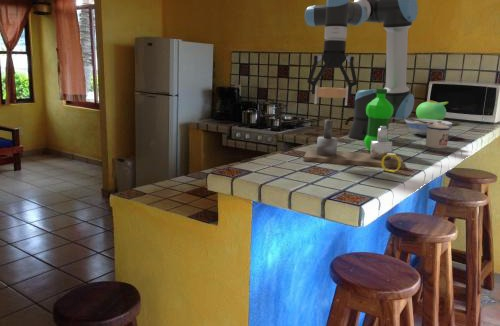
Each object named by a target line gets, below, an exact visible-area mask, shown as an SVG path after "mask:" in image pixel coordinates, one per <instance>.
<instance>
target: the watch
mask: <svg viewBox="0 0 500 326" xmlns="http://www.w3.org/2000/svg"><path fill="white" fill-rule="evenodd" d="M396 155H397V153H392V152H391V153H388V154H387V155H386V156H384V157H383V159H382V161H381V165H382V167H381V168H382V169H383V170H384V171H385V172H391V173H395V172H397V171H399V170H400V166H401V161H400V159H399V157H397V156H396ZM387 156H390V157H395V158H396V159H397V160H398V162H399V163H398V168H396V169H395V170H392V169H388V168H387V167H384V159H385V158H386V157H387Z"/></svg>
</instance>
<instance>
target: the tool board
mask: <svg viewBox="0 0 500 326" xmlns="http://www.w3.org/2000/svg"><path fill="white" fill-rule="evenodd" d="M333 122H334V121H333V120H332V119H324V127H323V136H318V137H317V140H316V141H317V143H316V148H307V150H306V152H305V154H304V156H303V162H313V163H324V164H338V165H351V166H365V167H374V168H375V167H376V168H377V167H378V168H382V165H381V161H382V160H376V159H371V158H370V152H356V151H354V152H353V151H342V150H338V138H339V137H338V138H337V137H336V136H335V137H333V136H332V134H333ZM396 156H397V157H399V159H400V161H401V166H400V168H399V170H401V169H403V170H404V169H405V163H404V160H403V159H402V156H401V155H397V154H396ZM398 163H399V162H398V160H397V159H396V158H395V157H391V159H390V160H384V167H385V168H386V169H388V168H389V169H397V168H398Z"/></svg>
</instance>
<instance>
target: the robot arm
mask: <svg viewBox="0 0 500 326" xmlns="http://www.w3.org/2000/svg"><path fill="white" fill-rule="evenodd" d="M418 6H419V5H418V2H417V0H354V1H351V0H326V3H325V4H316V5H315V4H314V5H309V6H308V7H307V8H306V9H305V12H304V21H305V23H306V25H307V26H309V27H324V38H323V39H325V40H324V42H323V53H322V55H314V56H313V64H312V67H311V70H310V73H309V75H308V78H307V82H306V83H307V84H309V85H311V94H312V95H314V100H313V101H314V102H313V105H317V104H318V97H317V88H318V87H319V85H318V84H317V83H318V82H319V80H320V78H321V77H322V76H323V74H324V73H325V71H326V70H327V68H337V69H338V68H339V69H340V71H341V74H342V75H343V78H344V79H345V82H346V83H347V85H348V86H346V87H345V89H346V96H345V99H344V106H348V97H351V96H352V88H353V87H354V86H357V85H358V80H357V76H356V71H355V66H354V62H355V60H354V59H355V57H354V56H352V55H351V56H349V55H346V49H347V48H346V46H347V41H346V39H347V37H348V36H347V34H348V26H352V27H356V26H360V25H361V24H362V25H363V23H372V24H373V23H374V24H376V23H378V24H379V23H380V24H383V25H382V28H383V29H384V30H385V31H386V54H385V55H386V60H385V61H386V62H385V64H386V65H385V66H386V67H385V69H386V72H385V74H386V75H385V86H384V87H383V89H387V94H385V98H386V99H387V100H388V101H389V102H390V103H391V104H392V105H393V108H394V111H393V115H392V116H391V117H390V118H389V119H391V120H392V119H393V120H405V119H406V118H410V115H411V114H412V111H413V108H414V105H415V95H414V94H413V93H410V87H408V86H407V68H408V66H407V65H408V36H409V35H408V34H409V33H408V32H409V29H411V27H412V25H413V22H415V21H416V20H417V18H418V13H419V8H418ZM321 60H322V61H323V63H324V64H323V65H322V67H321V69H320V71H319V72H318V74H317V75H316V76H315V78H314V75H315V72H316V70H317V67H318V64H319V62H320V61H321ZM346 60H347V63H349V67H350V72H351V76H352V80H353V81H351V79H350V77H349V75H348V73H347V71H346V69H345V67H344V65H343V63H344V62H345V61H346ZM313 79H314V80H313ZM376 89H377V88H375V89H373V88H372V89H361V90H360V89H359V90H358V91H357V92H356V93H355V99H354V108H353V109H354V110H353V112H354V113H353V121H352V124H351V127H350V130H348V137H349V138H351V139H356V140H361V141H362V140H363V141H364V139H365V137H366V135H367V130H368V119H369V117H368V116H367V114H366V107H367V105H368V104H369V103H370V102H371V101H372V100H374V99H375V98H377V93H376Z"/></svg>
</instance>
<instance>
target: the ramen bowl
mask: <svg viewBox="0 0 500 326" xmlns="http://www.w3.org/2000/svg"><path fill="white" fill-rule="evenodd" d="M404 121H405V123H406V125H407V127H408V128H409V130H410V131H412V132H414V134H415V133H416V134H418V136H422V137H427V130H428V128H427V127H428V125H431V124H433V123H437V120H432V119H419V118H412V117H408V118H406V119H404ZM440 121H441V120H440ZM442 123H443V124H445V125H446V126H449V127H450V128H451V127H452V125H453V122H450V121H447V120H446V121H445V120H442Z"/></svg>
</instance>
